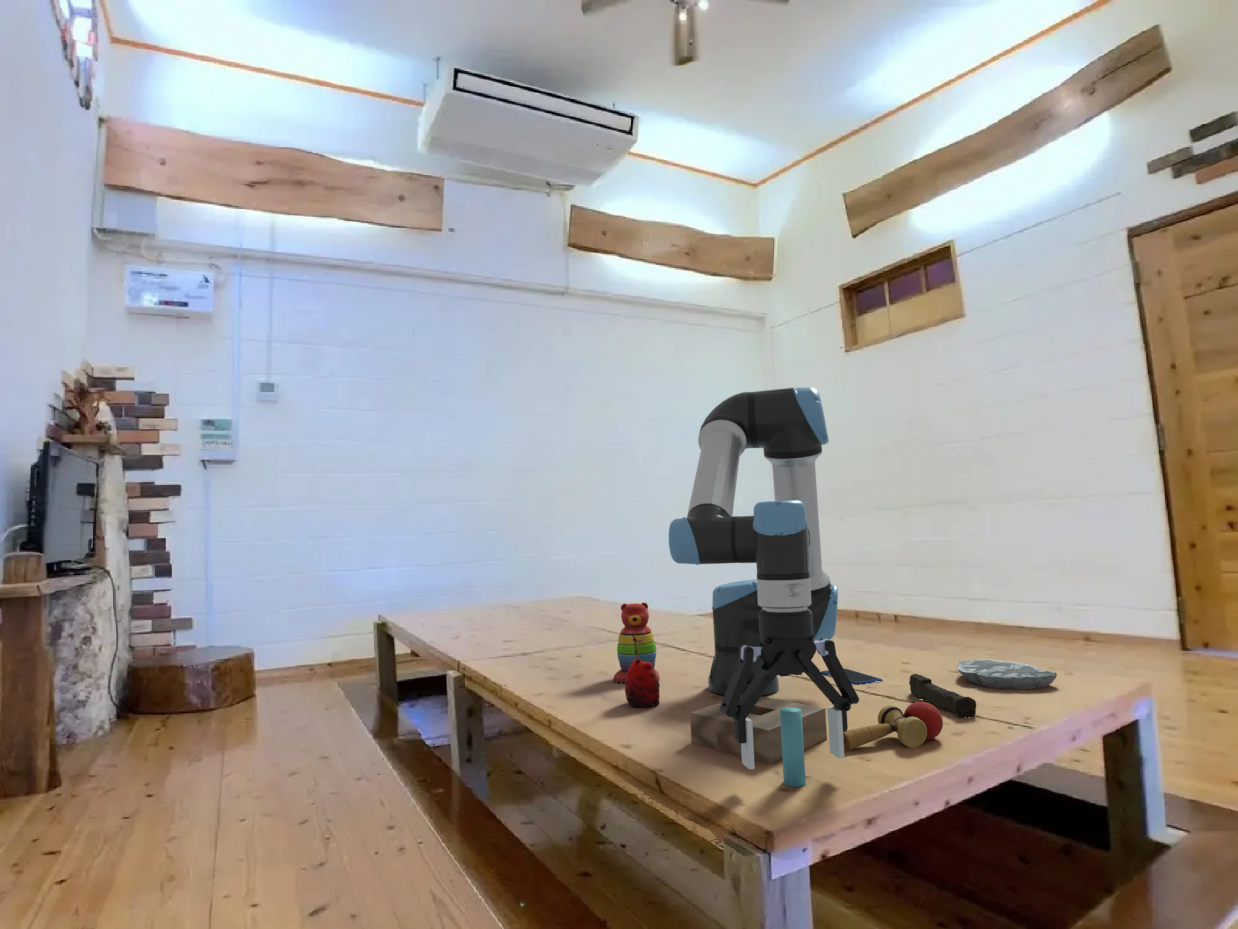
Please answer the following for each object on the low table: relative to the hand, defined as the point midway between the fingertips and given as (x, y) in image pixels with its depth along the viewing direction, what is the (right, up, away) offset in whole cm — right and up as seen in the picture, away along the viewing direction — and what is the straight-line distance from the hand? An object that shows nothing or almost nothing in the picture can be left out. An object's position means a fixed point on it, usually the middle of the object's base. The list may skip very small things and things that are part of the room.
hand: (793, 761), depth 100 cm
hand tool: (+36, -5, +36) cm, 52 cm away
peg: (0, -3, 0) cm, 3 cm away
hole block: (-1, -5, +19) cm, 20 cm away
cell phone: (+28, -7, +62) cm, 69 cm away
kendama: (+20, -4, +15) cm, 25 cm away
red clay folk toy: (-20, -8, +45) cm, 50 cm away
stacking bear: (-20, -9, +69) cm, 73 cm away
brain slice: (+58, -5, +53) cm, 78 cm away
